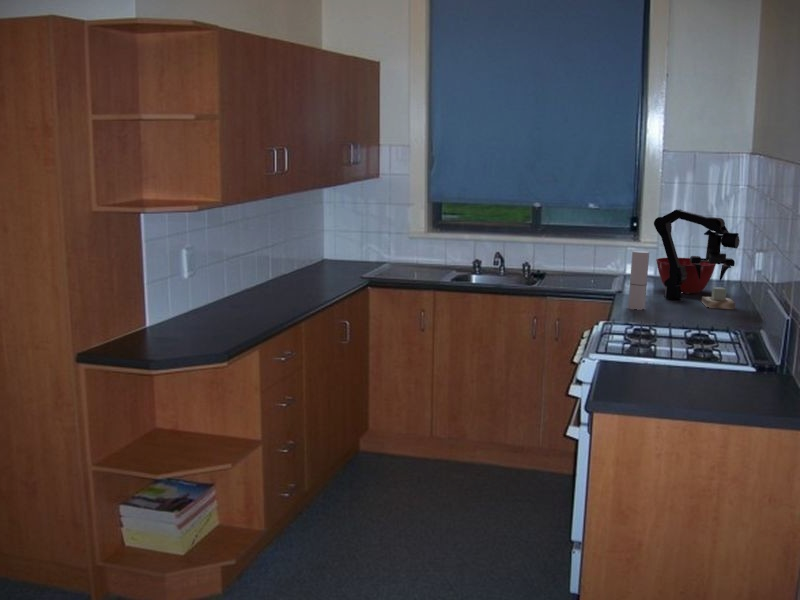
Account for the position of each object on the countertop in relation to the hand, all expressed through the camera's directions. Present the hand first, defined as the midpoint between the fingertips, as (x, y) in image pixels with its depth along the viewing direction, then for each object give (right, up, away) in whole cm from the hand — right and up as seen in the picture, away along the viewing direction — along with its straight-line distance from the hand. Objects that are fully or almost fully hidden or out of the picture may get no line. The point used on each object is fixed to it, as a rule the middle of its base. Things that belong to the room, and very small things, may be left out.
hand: (709, 279), depth 407 cm
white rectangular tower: (-37, -13, -15) cm, 42 cm away
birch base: (+3, -12, -3) cm, 13 cm away
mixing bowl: (-1, -5, +34) cm, 34 cm away
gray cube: (+3, -9, -3) cm, 10 cm away
